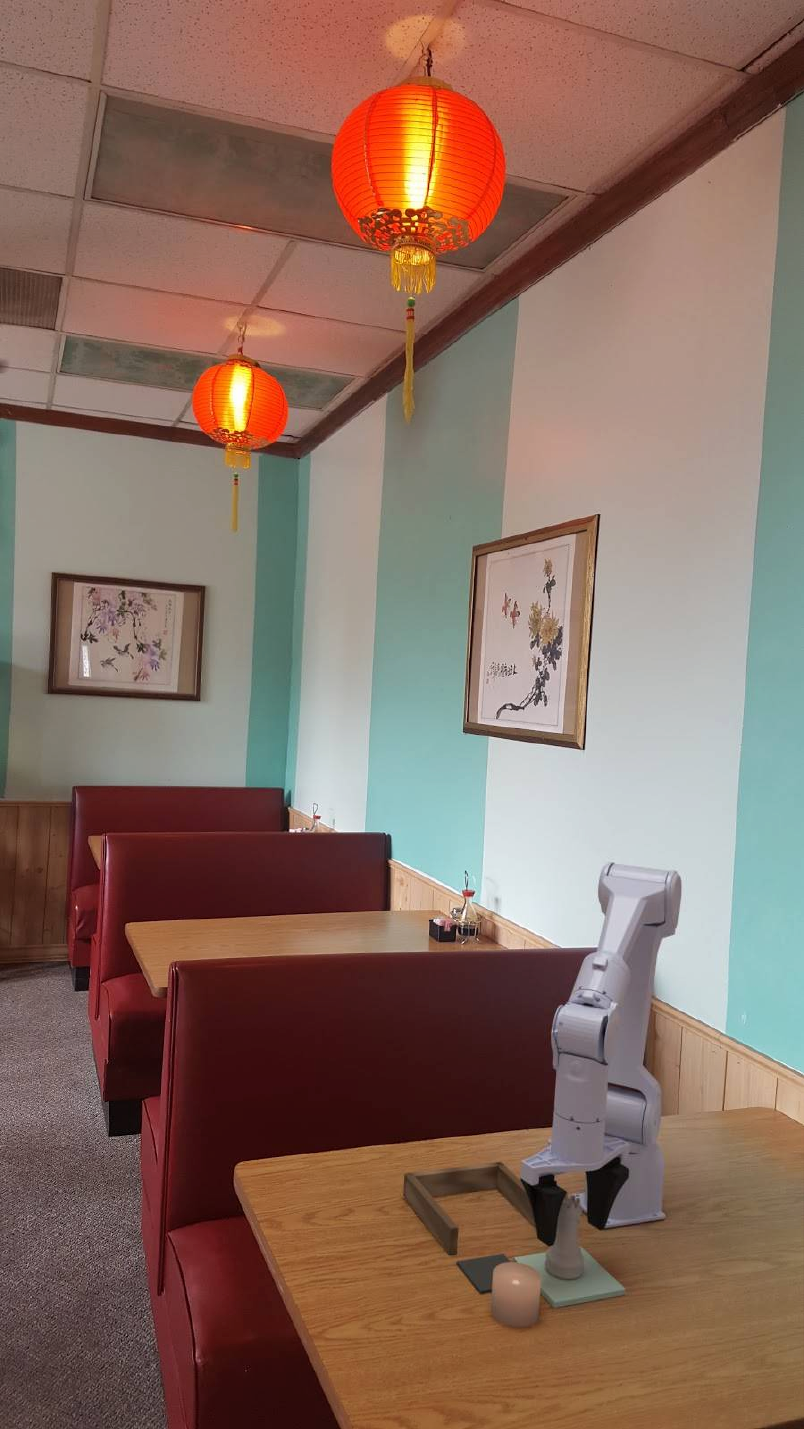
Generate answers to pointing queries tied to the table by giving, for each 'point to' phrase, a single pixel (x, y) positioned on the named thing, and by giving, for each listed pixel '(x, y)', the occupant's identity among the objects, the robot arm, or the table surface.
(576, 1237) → the rook chess piece
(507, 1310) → the peach short cylinder
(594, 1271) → the coaster
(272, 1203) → the table surface
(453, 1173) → the cubby
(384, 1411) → the table surface
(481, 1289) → the dark gray tile
